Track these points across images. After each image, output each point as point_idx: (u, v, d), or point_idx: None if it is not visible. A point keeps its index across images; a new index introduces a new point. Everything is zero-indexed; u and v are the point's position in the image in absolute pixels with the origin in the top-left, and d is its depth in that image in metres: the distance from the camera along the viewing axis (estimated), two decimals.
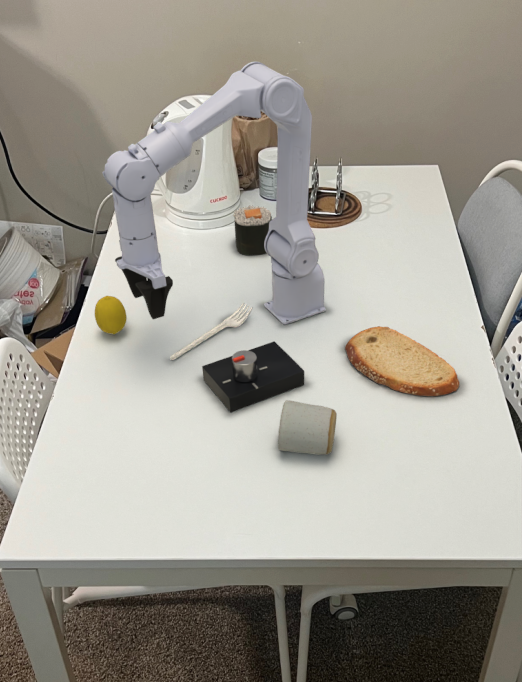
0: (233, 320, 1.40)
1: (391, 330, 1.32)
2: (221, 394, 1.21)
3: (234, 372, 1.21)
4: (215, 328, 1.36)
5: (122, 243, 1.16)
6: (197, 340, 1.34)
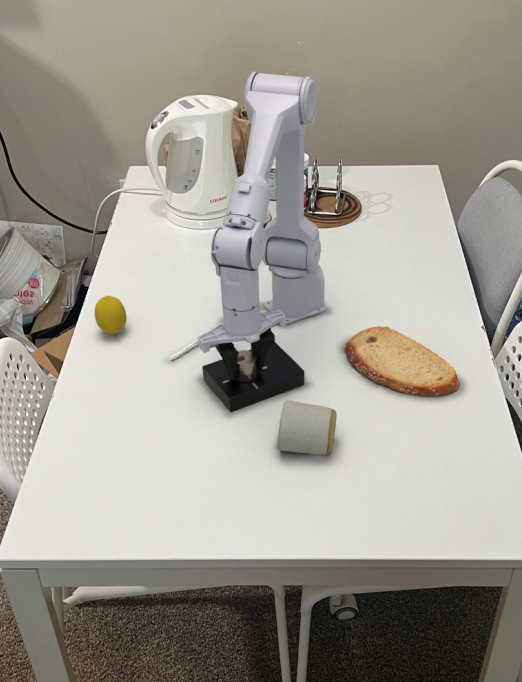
0: None
1: (391, 330, 1.32)
2: (221, 394, 1.21)
3: None
4: None
5: (252, 315, 1.13)
6: (197, 340, 1.34)
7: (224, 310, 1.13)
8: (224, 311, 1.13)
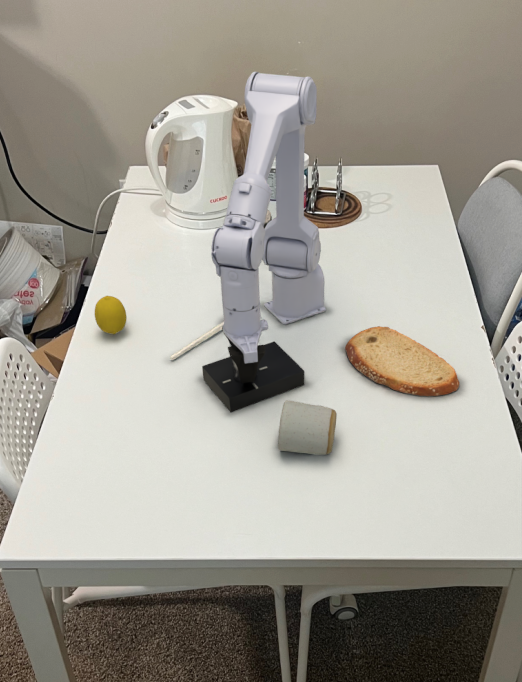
0: None
1: (391, 330, 1.32)
2: (221, 394, 1.21)
3: None
4: (215, 328, 1.36)
5: None
6: (197, 340, 1.34)
7: (244, 315, 1.12)
8: (244, 316, 1.12)
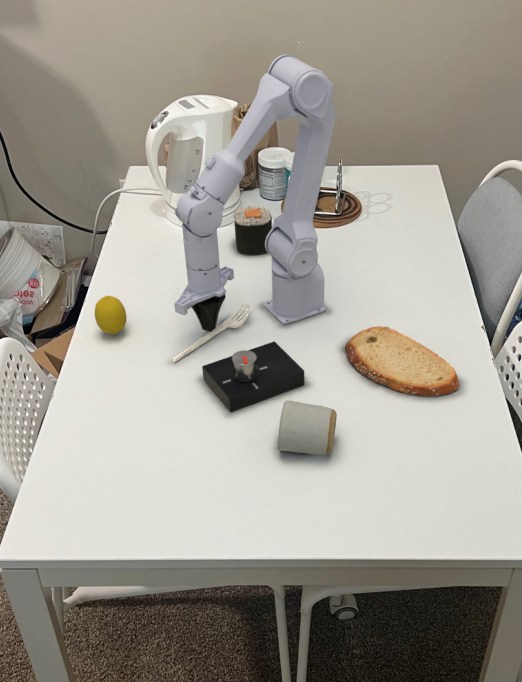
0: (233, 321, 1.39)
1: (391, 330, 1.32)
2: (221, 394, 1.21)
3: (247, 375, 1.21)
4: (216, 329, 1.36)
5: (217, 271, 1.27)
6: (198, 341, 1.33)
7: (192, 273, 1.26)
8: (192, 274, 1.26)
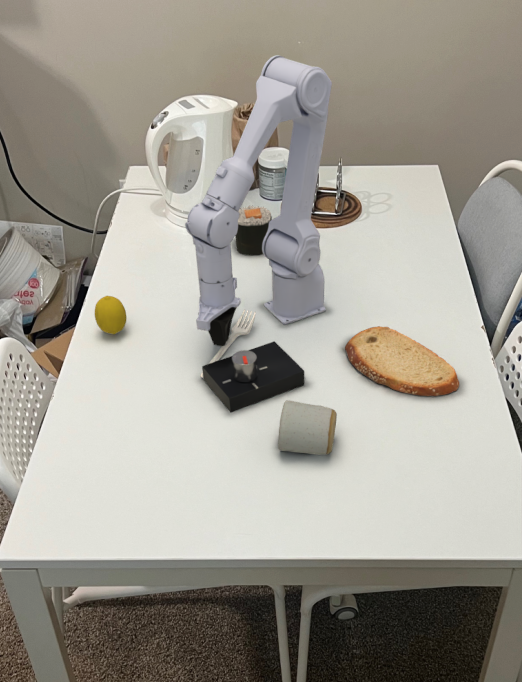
0: (241, 328, 1.38)
1: (391, 330, 1.32)
2: (221, 394, 1.21)
3: (247, 375, 1.21)
4: (230, 339, 1.34)
5: (232, 281, 1.25)
6: (218, 354, 1.31)
7: (209, 287, 1.23)
8: (209, 288, 1.23)
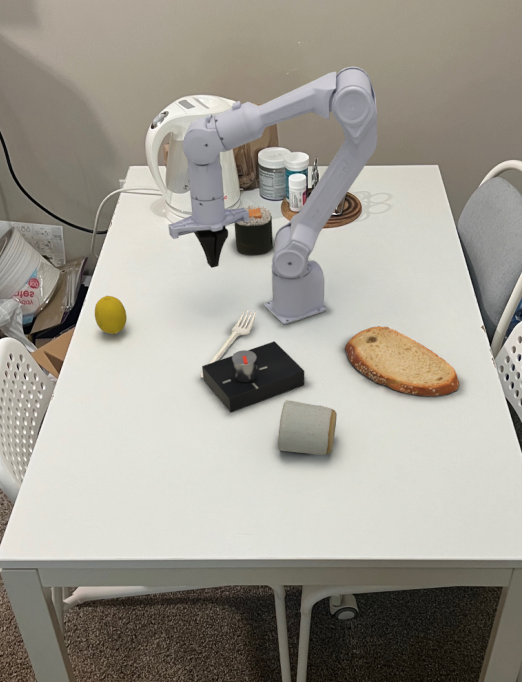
0: (241, 328, 1.38)
1: (391, 330, 1.32)
2: (221, 394, 1.21)
3: (247, 375, 1.21)
4: (230, 339, 1.34)
5: (216, 205, 1.27)
6: (218, 354, 1.31)
7: (191, 200, 1.28)
8: (192, 201, 1.28)
